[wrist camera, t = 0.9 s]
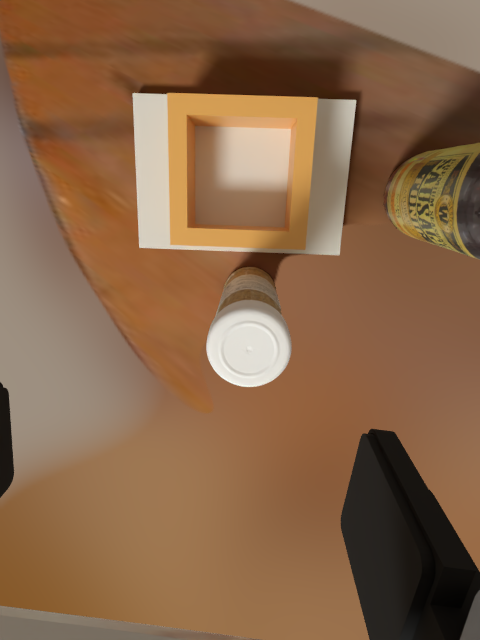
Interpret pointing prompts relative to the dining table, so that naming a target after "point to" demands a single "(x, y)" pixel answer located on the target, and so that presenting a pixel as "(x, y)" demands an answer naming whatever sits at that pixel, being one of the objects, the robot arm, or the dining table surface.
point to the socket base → (242, 172)
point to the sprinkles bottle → (249, 331)
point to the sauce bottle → (438, 198)
